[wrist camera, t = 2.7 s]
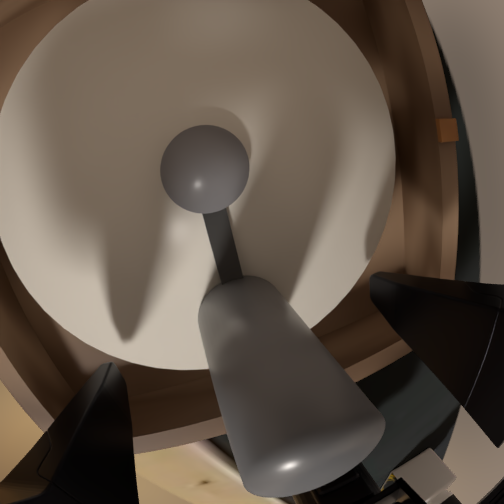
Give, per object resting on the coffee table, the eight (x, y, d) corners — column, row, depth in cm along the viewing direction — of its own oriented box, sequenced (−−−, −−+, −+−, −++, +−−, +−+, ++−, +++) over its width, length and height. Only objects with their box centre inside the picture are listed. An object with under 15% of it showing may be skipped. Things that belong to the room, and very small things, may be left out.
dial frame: (406, 300, 16) (449, 330, 12) (80, 410, 12) (72, 463, 9) (350, -38, 9) (393, -67, 5) (-41, 49, 5) (-83, 32, 2)
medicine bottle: (389, 471, 27) (435, 531, 16) (430, 445, 28) (476, 497, 17) (378, 490, 29) (416, 543, 18) (415, 468, 31) (454, 515, 20)
